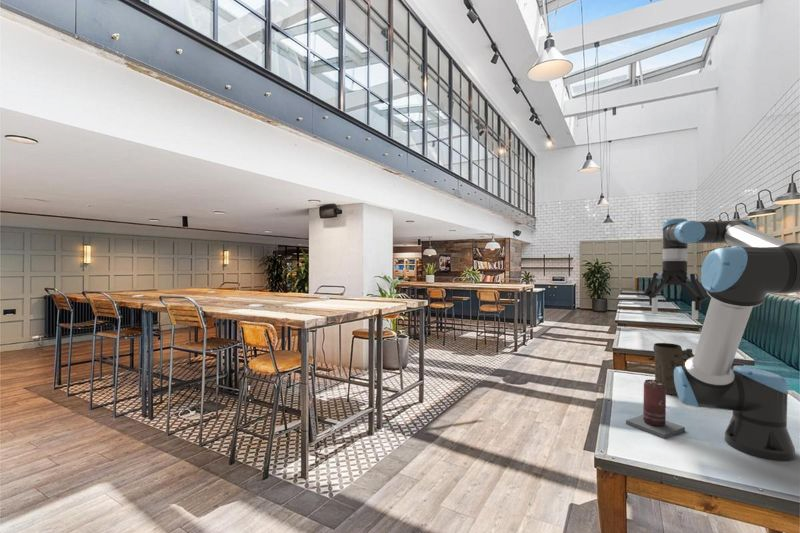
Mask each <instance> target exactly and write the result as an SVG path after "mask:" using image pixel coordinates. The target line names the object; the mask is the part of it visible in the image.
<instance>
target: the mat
mask: <svg viewBox="0 0 800 533" xmlns="http://www.w3.org/2000/svg"><path fill="white" fill-rule="evenodd" d="M625 424H626V425H628V426H631V427H634V428H636V429H638V430H641V431H644V432H646V433H649V434H651V435H654V436H657V437H659V438H660V439H667V438H669V437H671V436H675V435H677V434H680V433H682V432H685V428H686V427H685V426H682V425H681V424H680V425H679V424H677V423H674V422H671V421H669V420H667V419H666V420H665V425H664V426H663V427H656V426H651V425H649V424H646V423H645V422H644V420H643V414H642V415H638V416H635V417H631V418H629V419H626V420H625Z"/></svg>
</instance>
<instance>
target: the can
mask: <svg viewBox="0 0 800 533" xmlns="http://www.w3.org/2000/svg"><path fill="white" fill-rule="evenodd" d="M666 408H667V394H666V386H665V383H663V382H661V381H657V380H655V379H645V380H644V383H643V410H642V411H643V414H642V415H643V420H644V422H645V423H646V424H649V425H651V426H656V427H663V426H664V425H665V420H666V421H667V419H666V416H667V415H666V411H667V410H666Z"/></svg>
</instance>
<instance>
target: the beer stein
mask: <svg viewBox="0 0 800 533" xmlns="http://www.w3.org/2000/svg"><path fill="white" fill-rule="evenodd" d="M653 352H654V378H655V379H654V380H657V381H661V382H663V383H665V386H666V395H671V394H672V396H674V395H675V396H678V394H677V391H676V388H675V383H674V369H675V368H676V367H679V366H681V367H684V366H685V363H684V359H683V357H684V356H687V357H688V359H689V358H691V357H694V353H693V348H686V349H684V350H683V349H682V346H681V345H680V344H676V343H668V342H656V343H654V344H653Z"/></svg>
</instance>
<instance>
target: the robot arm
mask: <svg viewBox="0 0 800 533" xmlns="http://www.w3.org/2000/svg"><path fill="white" fill-rule="evenodd" d="M688 244H727V245H728V246H729V247H726V246H725V247H718V248H715V249H713V250H711V251H710V252H709V253H708V254H707V255H706V257H705V258H704V261H703V262H702V265H701V269H700V273H701V275H700V281H699V277H698V274H697V273H690V274H688V261H687V259H688V248H689V247H688V246H689V245H688ZM662 260H663V261H662V265H661V267H662V273H660V272H654V273H653V275H652V279H651V280H650V282H649V284H648V286H647V288H646V289H645V291H644V293H643V294H644V296H646V297H648V298H649V306H650V307H651V315H653V316H654V315H655V316H656V315H658V313H659V312H658V308H659V307H658V306H659V303H658V302H659V301H658V300H659V298H658V297H657V296H658V295H659V293H661V292H662V291H663V290H664V289H665V288H666V287H667V286H668V285H669V286H680V287H682V288H683V289H684V290H685V291H686V293H687V294H689V296H690V297H691V298H692V299H693V301H691V320H694V321H695V320H699V311H701V310H702V302H703V301H706V300H708V299H709V297H710V301H709V304H708V308H707V311H706V315H705V318H704V321H703V324H702V329H701V331H700V335H699V338H698V342H697V346H696V347H695V352H694V354H693V356H694V357H691V358H689V357H688V359H686V361H685V362H684V367H681V366H679V367H676V368H675V369H674V383H675V388H676V391H677V394H678V395H677V396H678V398H679V400H680V402H681V403H682V404H684V405H686V406H690V407H694V408H695V407H696V408H703V409H704V408H705V409H706V408H707V409H716V410H724V411H732V416H731V418H730V421H729V422H728V425H727V426H726V429H725V431H724V441H725V442H726V443H727V444H728V445H729V446H731V447H732V448H734V449H737V450H738V451H741V452H743V453H746V454H749V455H751V456H755V457H759V458H763V459H769V460H774V461H791V460H790V459H792V460H794V459H795V458H796V448H795V446H794V443H793V440H792V438H791V436H790V432H789V431H788V427H787V426H788V424H787V422H788V421H787V420H788V395H789V390H788V381H787V380H786V378H785V377H783V376H782V375H780V374H777V373H774V372H772V371H768V370H765V369H761V368H756V367H752V366H747V365H746V366H745V365H740V364H739V365H733V363H734V360H735V356H736V354H737V352H738V349H739V346H740V344H741V340H742V338H743V335H744V333H745V329H746V327H747V323H748V321H749V318H750V316H751V313H752V311H753V308H755V307H759V306H760V305H762V304H763V303H764V301H765V299H766V295H767V294H794V293H800V243H799V242H786V241H785V240H783V239H780V238H777V237H776V236H773V235H770V234H768V233H765V232H763V231H761V230H758V229H757V225H755V223H754V222H753V221H752V220H744V219H737V220H735V219H734V220H709V221H707V220H705V221H703V220H702V221H696V220H688V219H686V218H668V219H665V220H664V221H663V224H662ZM661 278H662V281H661V282H660V283H659V280H660V279H661ZM687 279H688V280H690V282H691V285H693V286H690V283H689V282H688V281H687ZM700 282H701V283H700ZM658 283H659V284H658ZM657 285H658V286H657ZM693 287H694V289H693ZM705 290H706V292H705ZM708 296H709V297H708ZM732 365H733V368H731V367H732ZM794 457H795V458H794ZM793 458H794V459H793Z"/></svg>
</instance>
